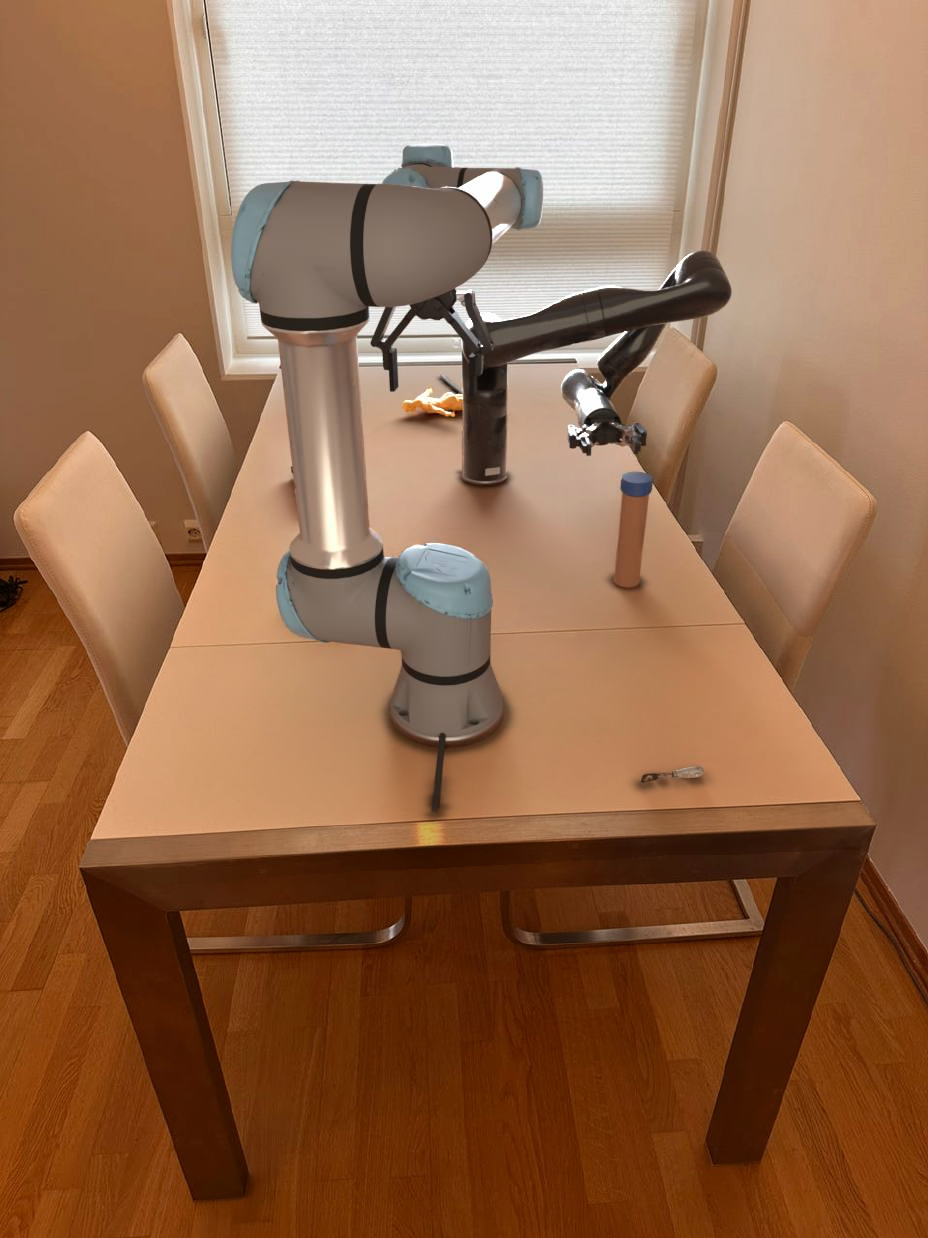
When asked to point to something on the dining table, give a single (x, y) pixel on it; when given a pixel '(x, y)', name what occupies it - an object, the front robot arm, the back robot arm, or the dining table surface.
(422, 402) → the human figure
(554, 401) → the dining table surface
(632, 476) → the lid
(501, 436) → the back robot arm
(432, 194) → the front robot arm
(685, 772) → the putty knife
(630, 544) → the tall tan cylinder
